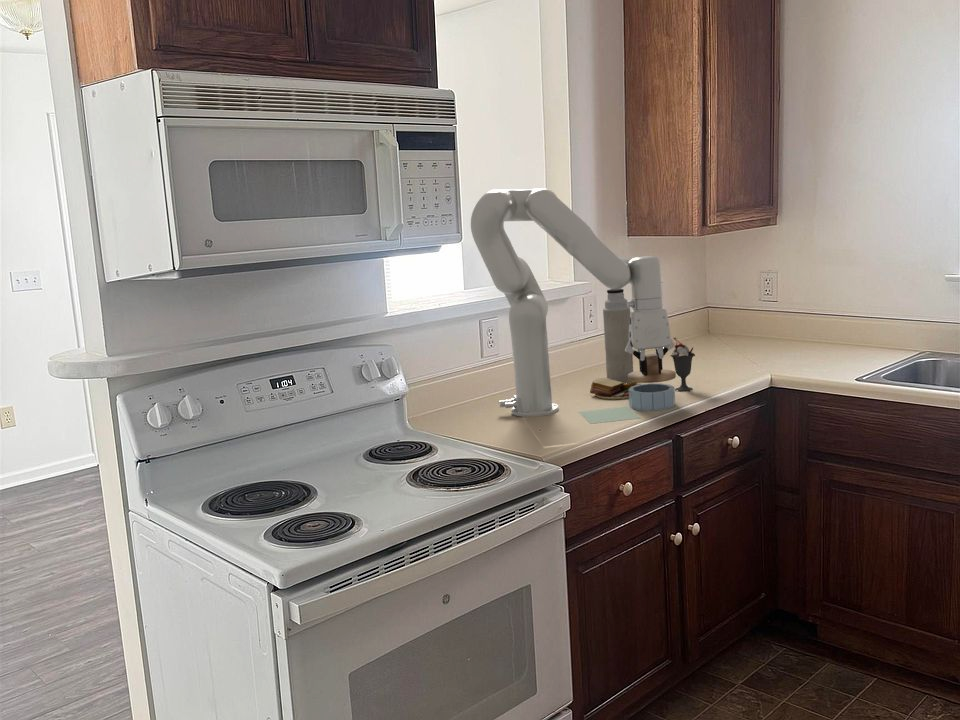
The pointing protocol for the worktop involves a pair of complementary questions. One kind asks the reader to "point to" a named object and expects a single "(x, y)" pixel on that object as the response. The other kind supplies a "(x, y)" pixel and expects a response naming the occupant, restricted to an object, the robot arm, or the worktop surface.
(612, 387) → the toy sandwich meal
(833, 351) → the worktop surface
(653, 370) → the lid
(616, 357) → the thermos bottle
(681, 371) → the sundae
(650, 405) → the bowl
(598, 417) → the mat
